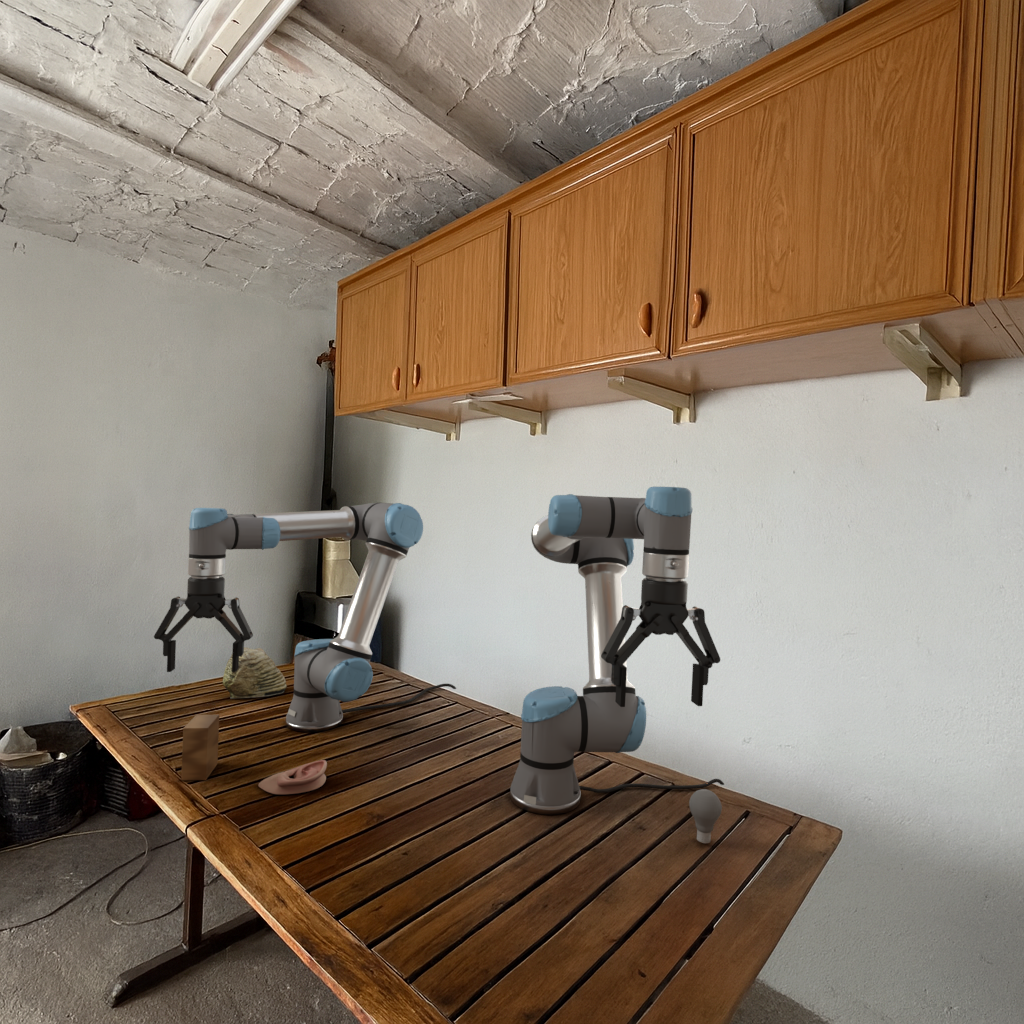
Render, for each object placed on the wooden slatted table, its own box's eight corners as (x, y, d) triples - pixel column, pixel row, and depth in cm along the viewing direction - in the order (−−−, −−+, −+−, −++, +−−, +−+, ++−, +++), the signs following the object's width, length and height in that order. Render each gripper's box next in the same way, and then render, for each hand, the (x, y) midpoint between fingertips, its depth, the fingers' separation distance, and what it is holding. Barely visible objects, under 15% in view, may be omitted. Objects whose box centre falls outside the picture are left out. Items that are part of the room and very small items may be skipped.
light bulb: (682, 833, 125) (685, 783, 125) (712, 833, 125) (714, 783, 125) (694, 850, 119) (696, 797, 119) (725, 850, 119) (727, 798, 119)
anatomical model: (250, 772, 134) (280, 751, 146) (249, 790, 135) (280, 768, 146) (307, 780, 132) (333, 759, 143) (306, 799, 132) (333, 776, 143)
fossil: (218, 695, 195) (220, 647, 195) (278, 685, 208) (279, 640, 207) (228, 703, 189) (230, 653, 188) (289, 692, 201) (290, 645, 201)
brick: (181, 780, 138) (183, 728, 138) (194, 764, 147) (196, 714, 147) (206, 780, 139) (207, 727, 139) (217, 763, 148) (219, 714, 147)
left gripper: (139, 577, 137) (136, 675, 137) (261, 579, 141) (257, 674, 141) (153, 573, 144) (150, 665, 144) (268, 575, 148) (265, 666, 148)
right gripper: (599, 579, 101) (593, 712, 101) (745, 583, 105) (738, 710, 105) (586, 574, 108) (581, 697, 108) (723, 577, 112) (717, 696, 112)
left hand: (203, 670), depth 143 cm, fingers open, 13 cm apart
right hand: (658, 704), depth 107 cm, fingers open, 13 cm apart
